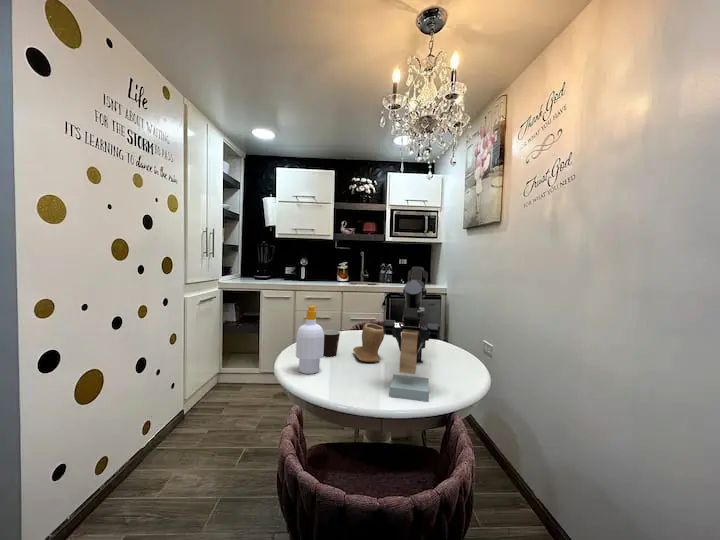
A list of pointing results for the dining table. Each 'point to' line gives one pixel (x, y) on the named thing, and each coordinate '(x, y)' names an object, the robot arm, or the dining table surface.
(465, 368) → the dining table surface
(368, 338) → the sandstone flared vase
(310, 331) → the soap bottle
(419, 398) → the slate base
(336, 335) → the coffee mug
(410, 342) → the walnut column
